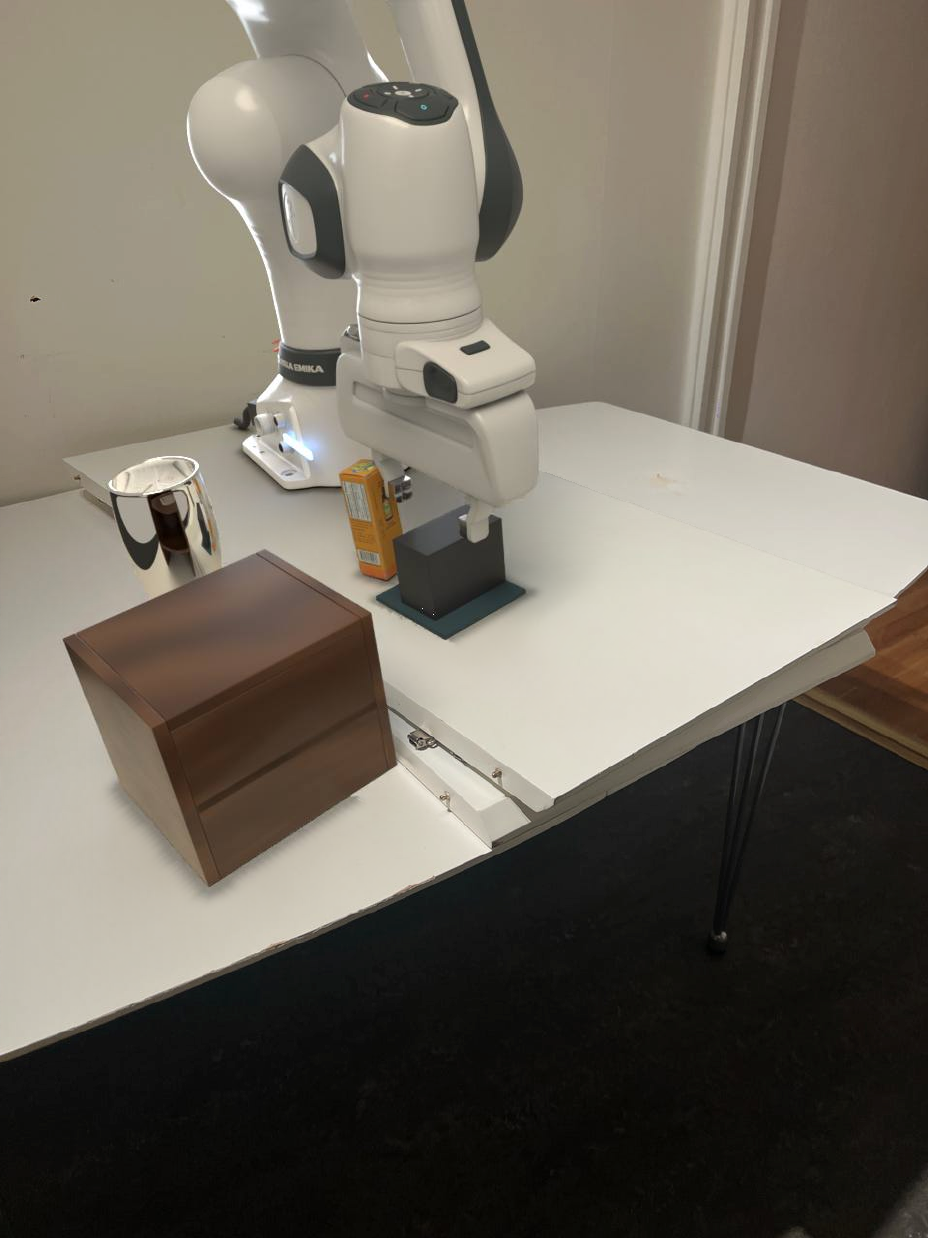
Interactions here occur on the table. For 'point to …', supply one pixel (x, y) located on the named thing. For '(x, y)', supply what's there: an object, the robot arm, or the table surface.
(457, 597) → the dark gray rectangular box
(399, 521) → the supplement box
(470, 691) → the table surface
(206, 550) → the silver metal tumbler
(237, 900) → the table surface
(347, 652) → the wooden drawer unit
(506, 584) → the pad
